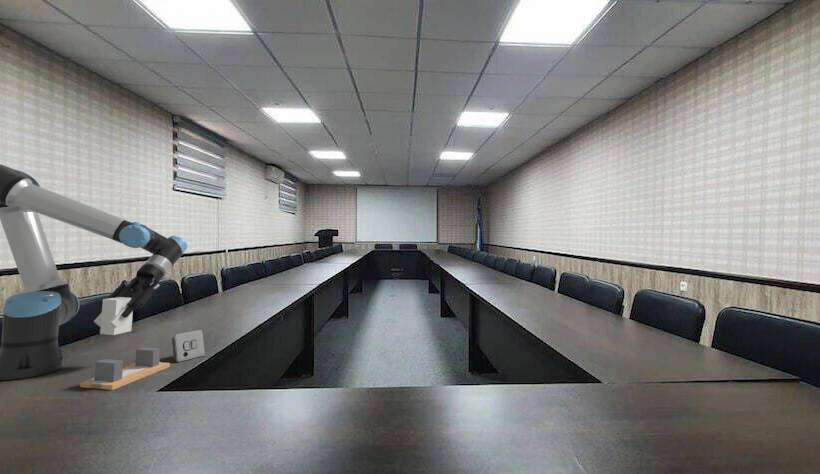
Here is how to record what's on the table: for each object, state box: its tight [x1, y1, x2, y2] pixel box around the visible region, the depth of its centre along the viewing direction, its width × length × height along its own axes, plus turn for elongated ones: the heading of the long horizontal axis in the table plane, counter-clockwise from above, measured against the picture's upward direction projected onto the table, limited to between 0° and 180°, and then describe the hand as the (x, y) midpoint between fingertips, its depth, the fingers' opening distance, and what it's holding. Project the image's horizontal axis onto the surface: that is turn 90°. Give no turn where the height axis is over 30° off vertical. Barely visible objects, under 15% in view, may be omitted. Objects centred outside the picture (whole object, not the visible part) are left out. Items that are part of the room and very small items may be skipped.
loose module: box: [99, 297, 134, 336], centre depth 113 cm, size 5×6×11 cm
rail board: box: [79, 347, 171, 391], centre depth 103 cm, size 10×19×6 cm, turn 173°
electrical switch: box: [171, 329, 206, 363], centre depth 121 cm, size 9×5×9 cm, turn 152°
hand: (105, 324), depth 109 cm, fingers closed on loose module, 5 cm apart
